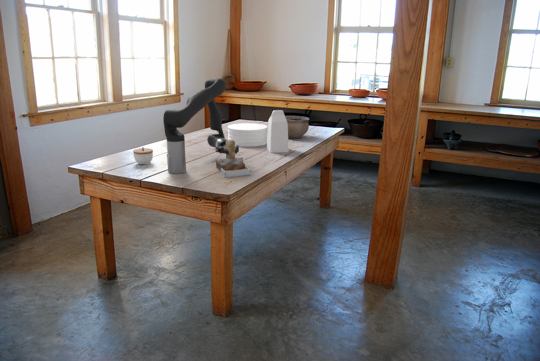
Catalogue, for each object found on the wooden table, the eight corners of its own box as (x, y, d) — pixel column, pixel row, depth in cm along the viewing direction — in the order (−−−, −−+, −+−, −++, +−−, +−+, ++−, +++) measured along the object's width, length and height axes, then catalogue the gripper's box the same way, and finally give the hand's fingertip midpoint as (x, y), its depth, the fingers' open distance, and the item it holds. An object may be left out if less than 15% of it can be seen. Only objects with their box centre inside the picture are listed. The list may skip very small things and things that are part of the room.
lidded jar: (157, 162, 249) (156, 146, 246) (143, 166, 240) (142, 150, 238) (144, 160, 254) (143, 144, 252) (130, 164, 246) (128, 148, 243)
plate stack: (244, 137, 324) (244, 121, 321) (275, 141, 309) (275, 125, 305) (219, 143, 302) (219, 127, 299) (251, 148, 287) (251, 131, 284)
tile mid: (232, 169, 227) (232, 173, 227) (234, 171, 224) (234, 175, 224) (238, 169, 228) (238, 172, 229) (240, 171, 225) (240, 174, 226)
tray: (224, 177, 222) (224, 172, 221) (220, 173, 229) (220, 168, 228) (250, 175, 226) (250, 169, 225) (246, 171, 233) (246, 165, 233)
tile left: (224, 170, 225) (224, 174, 226) (226, 172, 222) (226, 176, 223) (231, 170, 227) (231, 173, 227) (233, 171, 223) (233, 175, 224)
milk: (270, 152, 276) (270, 111, 268) (266, 148, 286) (267, 109, 279) (288, 151, 278) (289, 111, 270) (284, 148, 289) (285, 109, 281)
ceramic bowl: (277, 134, 333) (278, 115, 329) (305, 134, 336) (306, 115, 331) (281, 140, 312) (282, 119, 308) (311, 140, 315) (311, 119, 310)
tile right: (239, 169, 228) (239, 172, 229) (241, 171, 225) (242, 174, 226) (246, 168, 229) (246, 172, 230) (248, 170, 226) (248, 174, 227)
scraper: (221, 165, 229) (221, 143, 226) (219, 162, 234) (218, 141, 231) (243, 163, 234) (243, 141, 230) (240, 160, 238) (240, 139, 235)
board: (221, 173, 229) (221, 166, 228) (216, 167, 240) (216, 160, 238) (245, 171, 233) (245, 164, 232) (238, 165, 244) (238, 159, 243)
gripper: (211, 139, 242) (219, 146, 226) (235, 138, 247) (244, 144, 231) (211, 153, 244) (219, 160, 229) (235, 151, 249) (244, 158, 234)
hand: (232, 152), depth 230 cm, fingers closed on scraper, 4 cm apart
